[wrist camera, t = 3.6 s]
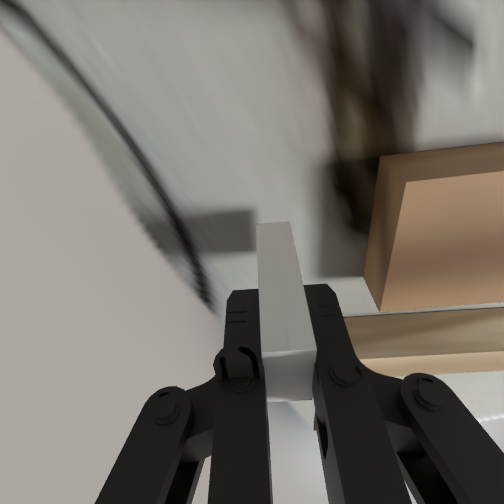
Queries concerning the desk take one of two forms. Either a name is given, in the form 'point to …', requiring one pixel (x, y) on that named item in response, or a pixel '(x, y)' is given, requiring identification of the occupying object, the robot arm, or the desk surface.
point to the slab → (437, 229)
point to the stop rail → (430, 342)
